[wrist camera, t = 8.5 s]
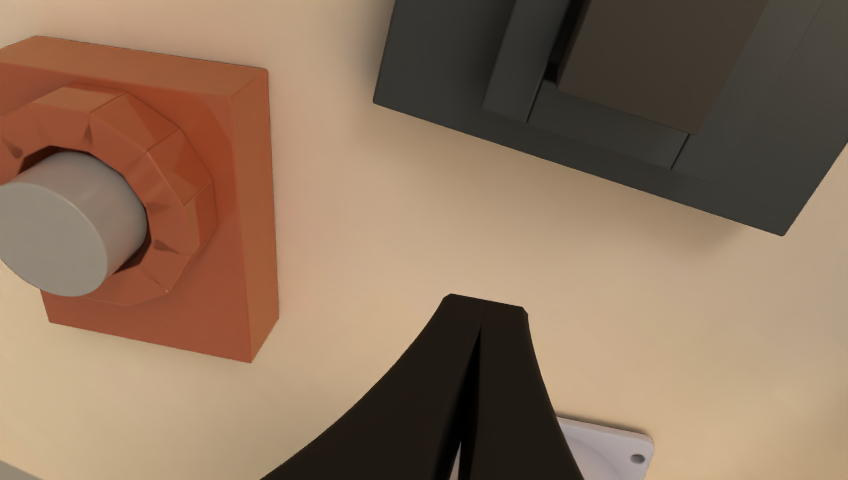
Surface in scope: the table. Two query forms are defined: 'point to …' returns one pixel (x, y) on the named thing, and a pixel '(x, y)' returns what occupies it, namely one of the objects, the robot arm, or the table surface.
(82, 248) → the gray push button
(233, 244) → the orange knob plate
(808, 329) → the table surface
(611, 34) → the dark top block
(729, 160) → the dark gray socket plate
